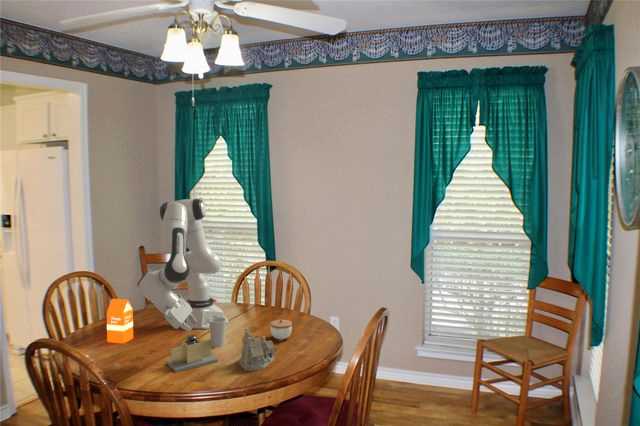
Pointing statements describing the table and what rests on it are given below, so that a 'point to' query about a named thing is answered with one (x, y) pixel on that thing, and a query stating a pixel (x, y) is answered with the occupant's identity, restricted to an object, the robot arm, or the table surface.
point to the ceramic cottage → (256, 353)
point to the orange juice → (119, 321)
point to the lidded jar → (281, 328)
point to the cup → (217, 331)
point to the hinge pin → (191, 339)
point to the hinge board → (185, 366)
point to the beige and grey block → (191, 352)
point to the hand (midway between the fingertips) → (193, 326)
